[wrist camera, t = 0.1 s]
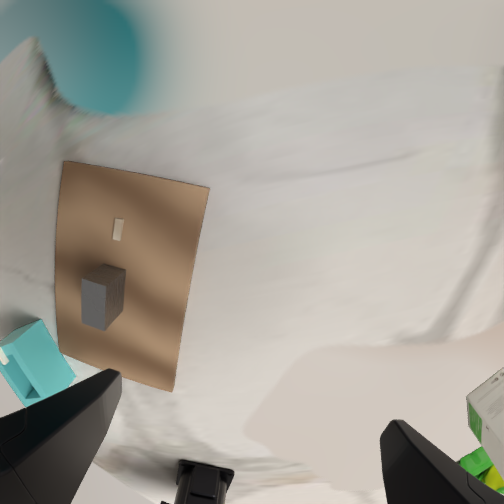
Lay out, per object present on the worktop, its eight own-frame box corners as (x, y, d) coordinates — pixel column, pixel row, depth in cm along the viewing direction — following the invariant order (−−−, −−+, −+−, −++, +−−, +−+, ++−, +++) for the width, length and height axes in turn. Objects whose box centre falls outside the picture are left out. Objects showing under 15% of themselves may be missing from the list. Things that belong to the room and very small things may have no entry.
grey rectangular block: (122, 310, 23) (104, 331, 20) (101, 303, 23) (81, 322, 20) (126, 269, 22) (106, 286, 19) (103, 263, 22) (81, 278, 19)
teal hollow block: (76, 376, 26) (51, 408, 21) (46, 381, 27) (22, 410, 22) (41, 319, 25) (8, 345, 19) (14, 329, 25) (-15, 354, 20)
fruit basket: (449, 478, 32) (470, 524, 21) (455, 454, 30) (481, 507, 19) (502, 446, 30) (527, 486, 19) (512, 418, 28) (544, 462, 17)
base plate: (173, 387, 26) (171, 394, 25) (63, 348, 25) (58, 353, 24) (210, 188, 21) (207, 189, 20) (69, 161, 21) (61, 161, 20)
